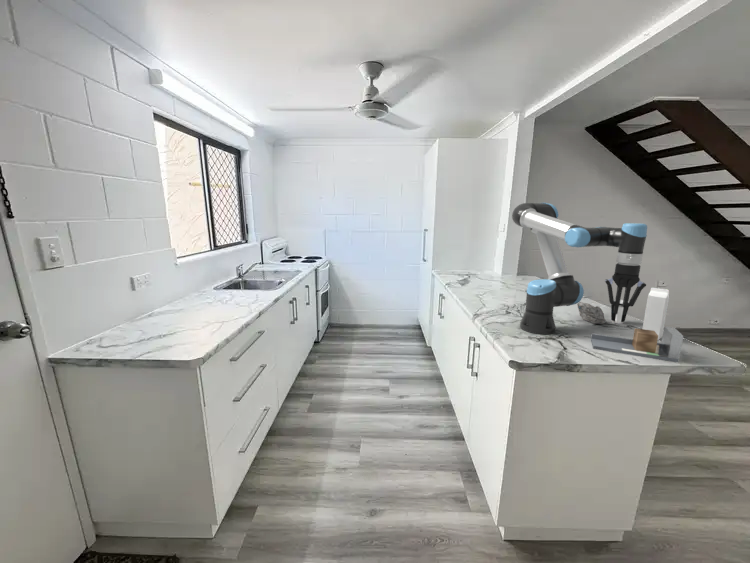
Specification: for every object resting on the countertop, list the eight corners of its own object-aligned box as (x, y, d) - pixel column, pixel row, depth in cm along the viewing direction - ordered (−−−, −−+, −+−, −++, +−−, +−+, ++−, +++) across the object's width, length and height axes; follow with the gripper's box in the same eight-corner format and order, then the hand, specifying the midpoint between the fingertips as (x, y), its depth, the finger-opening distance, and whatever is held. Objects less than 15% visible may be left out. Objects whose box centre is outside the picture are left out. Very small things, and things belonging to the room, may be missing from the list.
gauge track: (592, 348, 128) (593, 341, 128) (590, 340, 137) (591, 333, 136) (678, 362, 116) (679, 354, 115) (669, 352, 124) (671, 344, 124)
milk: (658, 340, 137) (667, 290, 132) (640, 336, 141) (649, 288, 137) (662, 337, 140) (671, 288, 136) (644, 333, 145) (653, 286, 140)
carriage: (635, 350, 122) (638, 333, 121) (632, 344, 128) (634, 328, 127) (657, 354, 119) (661, 336, 118) (653, 347, 125) (656, 331, 124)
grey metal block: (668, 357, 117) (672, 334, 115) (660, 348, 126) (664, 326, 124) (678, 359, 116) (683, 336, 114) (670, 349, 124) (674, 327, 122)
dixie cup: (603, 320, 164) (606, 299, 161) (618, 319, 164) (621, 299, 162) (616, 325, 156) (620, 303, 154) (631, 324, 156) (635, 303, 154)
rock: (572, 314, 171) (575, 298, 168) (588, 314, 171) (592, 297, 167) (588, 329, 157) (592, 311, 153) (606, 329, 156) (610, 311, 152)
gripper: (608, 263, 122) (599, 321, 127) (652, 266, 116) (640, 327, 121) (606, 261, 128) (597, 316, 133) (647, 263, 122) (636, 321, 127)
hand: (617, 321), depth 127 cm, fingers closed
